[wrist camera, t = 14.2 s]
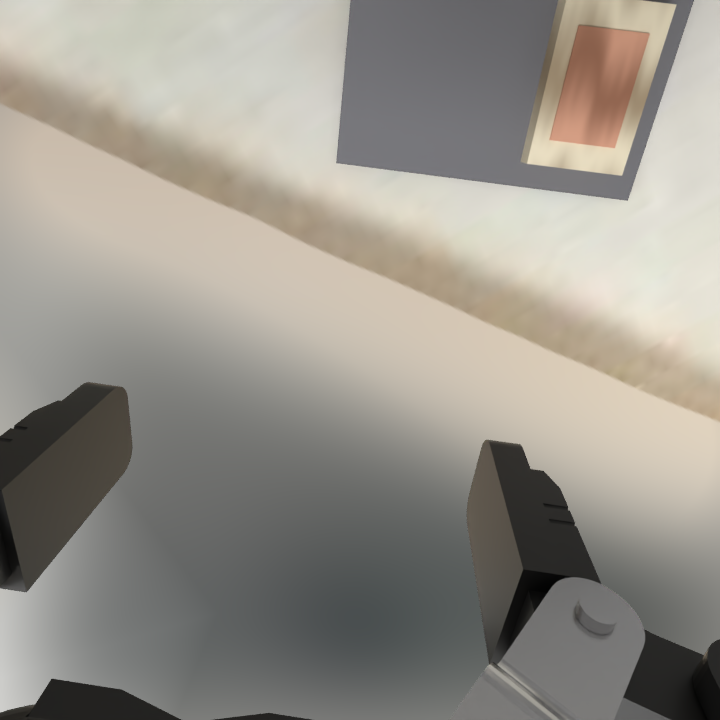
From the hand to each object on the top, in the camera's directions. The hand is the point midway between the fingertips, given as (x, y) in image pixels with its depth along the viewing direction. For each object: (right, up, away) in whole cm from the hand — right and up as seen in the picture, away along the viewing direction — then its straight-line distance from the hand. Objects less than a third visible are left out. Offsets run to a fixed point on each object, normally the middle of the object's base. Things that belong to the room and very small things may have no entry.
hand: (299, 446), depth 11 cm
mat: (+10, +20, +21) cm, 31 cm away
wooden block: (+13, +19, +19) cm, 30 cm away
